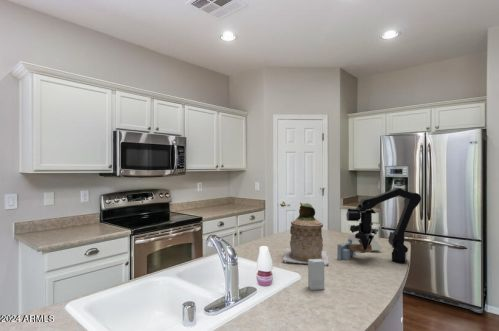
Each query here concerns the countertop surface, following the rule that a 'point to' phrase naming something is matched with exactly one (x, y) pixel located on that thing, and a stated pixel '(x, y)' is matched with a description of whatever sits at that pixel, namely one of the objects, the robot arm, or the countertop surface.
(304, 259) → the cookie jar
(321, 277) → the skincare box
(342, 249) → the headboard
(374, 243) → the pale grey slotted block
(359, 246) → the rail
